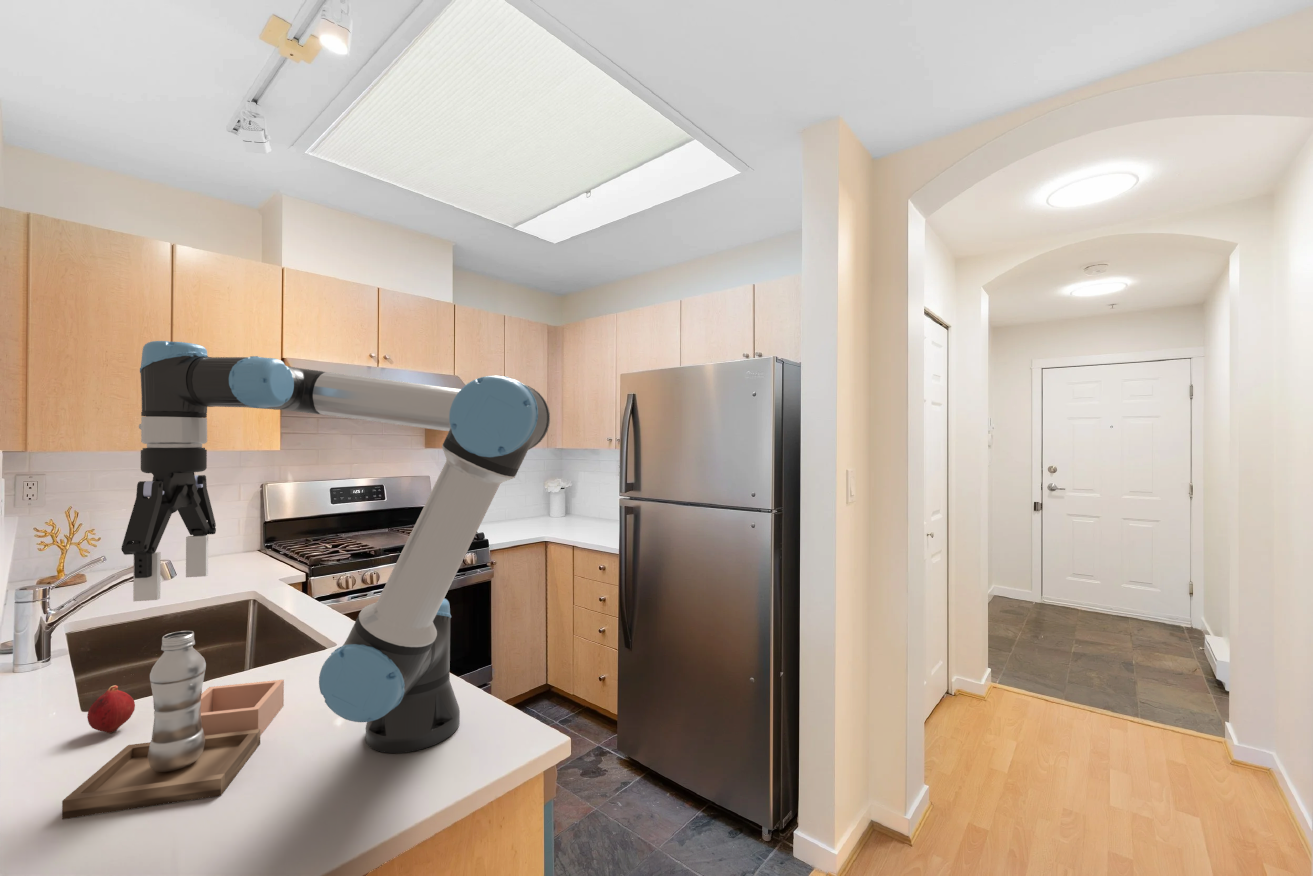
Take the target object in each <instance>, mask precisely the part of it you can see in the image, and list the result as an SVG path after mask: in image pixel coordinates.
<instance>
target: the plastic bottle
mask: <svg viewBox="0 0 1313 876" xmlns="http://www.w3.org/2000/svg"><path fill="white" fill-rule="evenodd" d="M194 645H196V640H195V632H194V631H193V630H181V631H175V632H171V633H167V634H165V635H163V636H162V638H161V647H160V648H161V649H160V650H161V651H163V653H162V654H161V655H160V657H159V658H158V659H157V660H156V661H155V663H154V665H153V666H152V668H151V670H150V673H149V681H150V687H151V693H152V698H153V701H152V703H153V710H154V711H153V716H154V717H153V726H152V733H151V740H150V742H151V743H150V746H149V751H148V761H149V766H150V767H151V768H152V769H153V770H154V771H157V772H168V771H173V770H177V769H180V768H183V767H186V766H188V765H190V764H192V763H194V762H195V761H196V760H197V759H198V758H199V757H200V755H201V754H202V753H203V749H204V745H205V736H204V731H203V728H202V721H201V709H200V705H201V701H200V699H201V694H202V693H203V692H202V691H203V690H202V689H203V684H204V679H205V674H206V668H207V663H206V660H205V657H204V656H202V654H201V653H200V652H199V651H197V650H196V649H195V648H194V647H193V646H194Z"/></svg>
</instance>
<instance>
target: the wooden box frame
mask: <svg viewBox="0 0 1313 876" xmlns="http://www.w3.org/2000/svg"><path fill="white" fill-rule="evenodd" d="M284 686H285V679H277V680H276V679H275V680H266V681H256V682H255V681H254V682H245V683H236V684H235V683H234V684H224V685H217V686H215V685H214V686H209V687H207V689H205V690H204V691H203V692H202V693H201V699H200V701H201V705H200V709H201V721H202V728H203V731H204V736H206V735H215V734H223V733H231V732H239V731H248V730H256V729H260V737H261V735H262V734H263V733H264V732H265V731H266V729H267V727H269V725H270V724H271V723H272V722H273V720H274V719H275V718H276V716H277V715H278V714H279V712H280V711H281V710H282V708H284V705H285V704H284V703H285V702H284V701H285V694H284V692H285V687H284ZM273 718H274V719H273Z"/></svg>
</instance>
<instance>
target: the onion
mask: <svg viewBox="0 0 1313 876" xmlns="http://www.w3.org/2000/svg"><path fill="white" fill-rule="evenodd" d="M118 688H119V685H116V684H115V685H112V686H110V687H109V688H108V689H107V690H106V691H105V692H104V693H103V694H101V695H100V696H99V697H98V698H96V700H95V701H94V702H93V703H92V704H91V705H90V707H89V709H88V711H87V717H86V718H87V723H88V725H89V726H90V727H91V728H92V729H94V730H95V731H99V732H104V733H108V734H111V733H112V734H113V733H115V732H116V731H118V729H119V728H121V727H122V726H123V725H124V724H125V723H127V721H128V720H129V719H131V717H132V715H133V713H134V712H135V708H136V704H135V700H134V698H133V697H132V695H130V694H129V693H127V692H125V691H123V690H119V689H118Z"/></svg>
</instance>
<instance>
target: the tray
mask: <svg viewBox="0 0 1313 876" xmlns="http://www.w3.org/2000/svg"><path fill="white" fill-rule="evenodd" d="M150 743H151V741H150V742H143V743H142V742H141V743H134V744H128V745H126V746H125V747H124V748H122V750H120V751H119V752H118V753H117V754H116V755H114V756H113V757H112V758H111V759H110V760H109V761H108V762H106V763H105V764H104V765H103V766H101V767H100V768H99V769H97V771H96V772H94V773H93V774H92V775H90V776H89V777H88V778H87V779H86V780H85V781H83V782H82V784H80V785H78V787H76V788H75V789H74V790H72V792H71V793H69V794H68V795H67V796H66V797H65V798H64V799H63V800H62V801H61V820H67V819H68V820H69V819H73V818H79V817H80V818H81V817H87V816H94V815H101V814H108V813H113V812H114V813H115V812H121V811H129V810H135V809H143V808H149V807H155V806H156V807H157V806H161V805H162V806H163V805H169V804H174V803H175V804H176V803H183V802H189V801H196V800H202V799H203V800H204V799H209V798H216V797H222V795H223V794H224V792H225V791H226V789H227V788H229V786H230V785H231V783H232V782H233V780H235V778H236V777H237V775H238V774H239V773H240V772H241V770H242V769H243V767H245V765H246V763H247V762H248V761H249V759H250V758H251V757H252V756H253V754H254V753H255V752H256V750H257V749H258V747H259V746H260V745H261V736H260V729H256V730H248V731H239V732H231V733H223V734H215V735H206V736H205V745H204V749H203V753H202V754H201V755H200V757H199V758H198V759H197V760H196V761H195V762H194V763H192V764H190V765H188V766H186V767H183V768H180V769H177V770H173V771H168V772H157V771H154V770H153V769H152V768H151V767H150V766H149V761H148V751H149V746H150Z"/></svg>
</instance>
